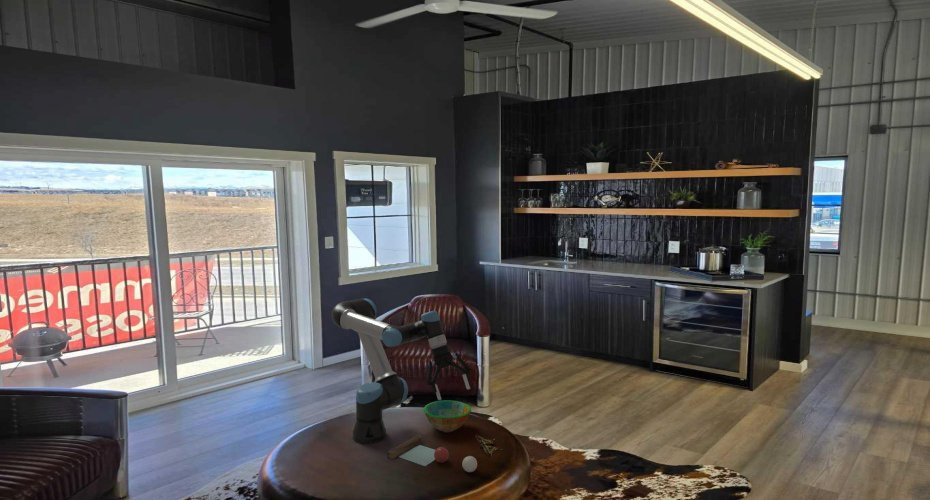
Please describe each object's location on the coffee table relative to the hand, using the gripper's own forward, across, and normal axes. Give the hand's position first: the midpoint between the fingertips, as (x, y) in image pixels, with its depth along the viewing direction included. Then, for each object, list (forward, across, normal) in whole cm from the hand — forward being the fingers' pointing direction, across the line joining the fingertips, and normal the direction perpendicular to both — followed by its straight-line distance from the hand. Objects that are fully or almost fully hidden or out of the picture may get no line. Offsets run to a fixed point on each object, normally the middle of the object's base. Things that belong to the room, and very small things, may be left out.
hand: (454, 394), depth 240 cm
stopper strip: (+16, -24, +16) cm, 33 cm away
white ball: (+27, -6, -10) cm, 29 cm away
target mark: (+20, -19, +9) cm, 29 cm away
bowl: (+16, 0, +30) cm, 34 cm away
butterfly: (+27, +8, +7) cm, 29 cm away
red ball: (+21, -13, 0) cm, 25 cm away
